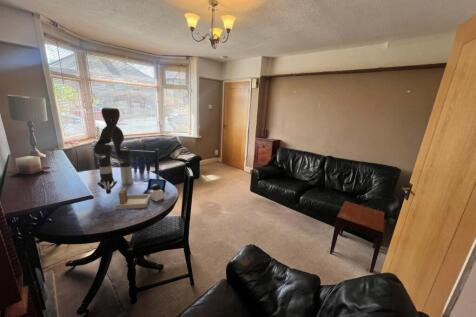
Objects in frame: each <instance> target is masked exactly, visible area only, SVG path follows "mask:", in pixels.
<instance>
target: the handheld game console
mask: <svg viewBox="0 0 476 317" xmlns="http://www.w3.org/2000/svg"><path fill="white" fill-rule="evenodd" d="M147 182H148V183H147V188H146V190H144V191H143V193H142V194H150V191H152V186H153V185H155V184H159V185H160V190H163V193H164V192H166V183H167V180H166V179H159V178H149V179H148V181H147Z"/></svg>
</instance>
